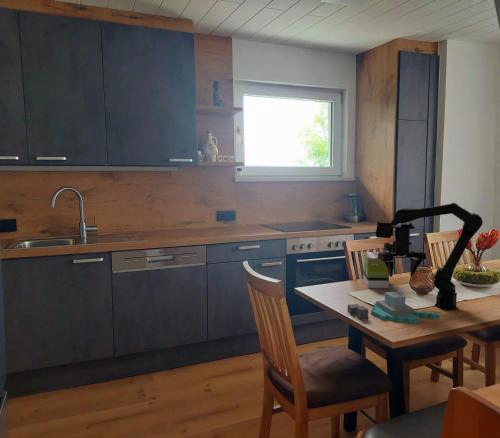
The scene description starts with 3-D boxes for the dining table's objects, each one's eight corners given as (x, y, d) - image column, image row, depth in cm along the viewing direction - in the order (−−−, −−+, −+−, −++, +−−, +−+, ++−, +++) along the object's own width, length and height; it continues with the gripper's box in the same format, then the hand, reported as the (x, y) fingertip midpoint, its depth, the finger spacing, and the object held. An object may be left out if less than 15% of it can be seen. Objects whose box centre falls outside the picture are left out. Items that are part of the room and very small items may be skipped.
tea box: (362, 279, 201) (363, 251, 199) (383, 280, 199) (383, 251, 198) (367, 288, 186) (367, 257, 184) (389, 288, 184) (390, 257, 183)
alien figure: (400, 304, 164) (360, 310, 157) (400, 299, 164) (360, 305, 157) (438, 320, 145) (395, 328, 138) (439, 314, 145) (395, 322, 138)
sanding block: (397, 304, 157) (397, 289, 157) (414, 314, 146) (414, 298, 145) (376, 305, 156) (376, 291, 155) (391, 316, 144) (392, 300, 144)
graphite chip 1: (357, 311, 154) (357, 304, 154) (361, 314, 150) (361, 307, 150) (347, 311, 154) (347, 304, 154) (351, 315, 150) (351, 307, 150)
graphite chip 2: (363, 305, 148) (356, 306, 148) (368, 309, 144) (360, 309, 144) (363, 316, 149) (356, 316, 148) (368, 319, 145) (360, 320, 144)
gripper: (412, 235, 171) (411, 270, 173) (372, 236, 169) (371, 272, 170) (427, 239, 160) (426, 276, 162) (384, 241, 158) (383, 279, 159)
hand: (401, 276), depth 164 cm, fingers open, 9 cm apart
